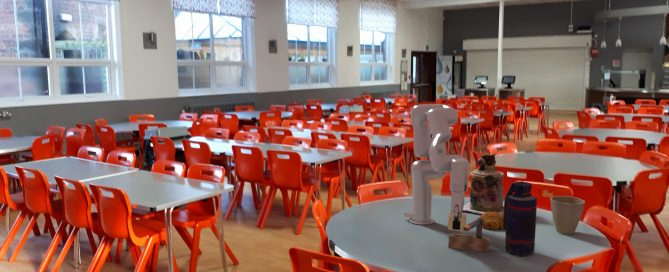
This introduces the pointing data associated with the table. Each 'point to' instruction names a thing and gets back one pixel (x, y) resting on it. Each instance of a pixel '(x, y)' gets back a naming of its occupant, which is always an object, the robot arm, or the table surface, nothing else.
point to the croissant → (492, 220)
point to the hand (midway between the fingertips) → (456, 226)
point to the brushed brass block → (462, 221)
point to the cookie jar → (486, 187)
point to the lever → (473, 224)
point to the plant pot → (566, 213)
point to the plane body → (470, 241)
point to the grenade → (520, 219)
